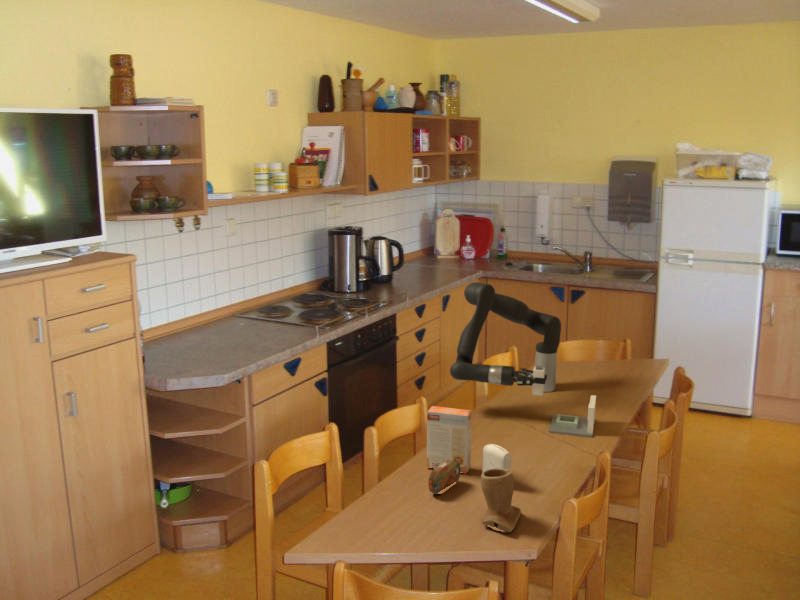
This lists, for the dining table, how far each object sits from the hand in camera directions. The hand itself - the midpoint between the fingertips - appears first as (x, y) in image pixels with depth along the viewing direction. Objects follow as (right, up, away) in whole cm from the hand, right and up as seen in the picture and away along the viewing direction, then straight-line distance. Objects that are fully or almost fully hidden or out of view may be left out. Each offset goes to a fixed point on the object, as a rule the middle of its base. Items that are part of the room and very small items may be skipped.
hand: (545, 379), depth 298 cm
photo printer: (-25, -29, -45) cm, 59 cm away
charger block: (-3, -6, +2) cm, 7 cm away
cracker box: (-39, -27, -35) cm, 59 cm away
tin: (-42, -30, -50) cm, 72 cm away
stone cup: (-27, -35, -69) cm, 82 cm away
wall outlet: (+10, -18, +1) cm, 21 cm away
